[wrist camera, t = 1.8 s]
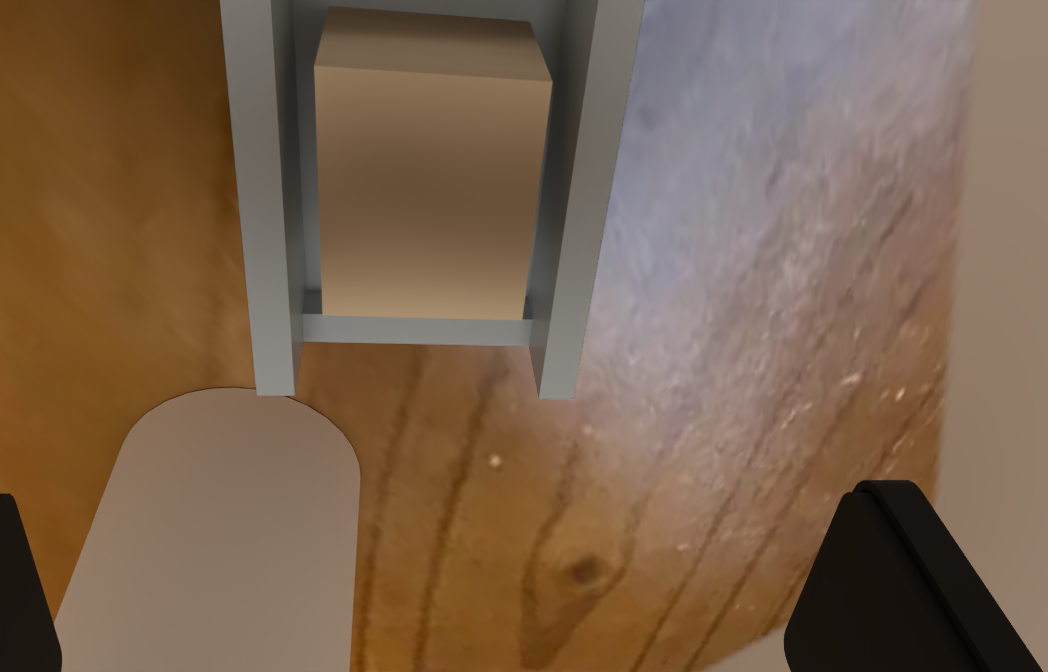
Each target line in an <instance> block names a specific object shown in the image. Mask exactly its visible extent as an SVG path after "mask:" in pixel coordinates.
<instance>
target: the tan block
mask: <svg viewBox="0 0 1048 672" xmlns="http://www.w3.org/2000/svg"><path fill="white" fill-rule="evenodd" d="M314 77H315V107H316V137H317V166H318V196H319V225H320V255H321V284H322V314H323V315H326V316H366V317H405V318H444V319H484V320H522V318H523V310H524V303H525V295H526V287H527V279H528V271H529V263H530V256H531V248H532V240H533V232H534V224H535V216H536V208H537V201H538V193H539V185H540V177H541V169H542V161H543V154H544V146H545V138H546V130H547V122H548V114H549V107H550V99H551V91H552V83H553V81H552V79H551V76H550V74H549V71H548V68H547V66H546V63H545V61H544V58H543V55H542V53H541V50H540V47H539V45H538V42H537V40H536V37H535V34H534V32H533V29H532V26H531V24H530V21H517V20H504V19H492V18H479V17H466V16H453V15H440V14H427V13H414V12H401V11H388V10H375V9H363V8H350V7H337V6H329V9H328V13H327V17H326V21H325V25H324V29H323V33H322V37H321V41H320V45H319V48H318V52H317V56H316V60H315V64H314Z"/></svg>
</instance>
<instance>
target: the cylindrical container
mask: <svg viewBox="0 0 1048 672" xmlns="http://www.w3.org/2000/svg"><path fill="white" fill-rule="evenodd" d="M360 480H361V476H360V468H359V462H358V459H357V457H356V454H355V452H354V449H353V447H352V446H351V444H350V443H349V441H348V440H347V438H346V437H345V436H344V434H343V433H342V432H341V431H340V430H339V429H338V428H337V427H336V426H335V425H334V424H333V423H332V422H331V421H330V420H329V419H327V418H326V417H325V416H323V415H321V414H320V413H318V412H317V411H315V410H313V409H312V408H310V407H309V406H307V405H305V404H302V403H300V402H297V401H295V400H293V399H290V398H288V397H285V396H263V395H257V393H256V390H255V389H244V388H215V389H206V390H201V391H196V392H191V393H186V394H184V395H181V396H178V397H176V398H173V399H170V400H168V401H165V402H164V403H162V404H160V405H159V406H157V407H155V408H154V409H152V410H150V411H149V412H147V413H146V414H145V415H144V416H143V417H142V418H141V419H140V420H139V421H138V422H137V423H136V424H135V425H134V426H133V427H132V428H131V430H130V432H129V433H128V435H127V437H126V439H125V440H124V442H123V444H122V447H121V449H120V452H119V454H118V457H117V460H116V462H115V465H114V468H113V470H112V473H111V475H110V478H109V481H108V483H107V486H106V488H105V491H104V494H103V496H102V499H101V502H100V504H99V507H98V509H97V512H96V515H95V517H94V520H93V523H92V525H91V528H90V530H89V533H88V536H87V538H86V541H85V544H84V546H83V549H82V551H81V554H80V557H79V559H78V562H77V564H76V567H75V570H74V572H73V575H72V578H71V580H70V583H69V585H68V588H67V591H66V593H65V596H64V599H63V601H62V604H61V606H60V609H59V612H58V614H57V617H56V620H55V622H54V627H55V630H56V633H57V637H58V640H59V643H60V646H61V651H62V670H61V672H349V667H350V650H351V633H352V616H353V599H354V582H355V565H356V548H357V531H358V514H359V497H360Z"/></svg>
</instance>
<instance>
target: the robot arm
mask: <svg viewBox="0 0 1048 672" xmlns="http://www.w3.org/2000/svg"><path fill="white" fill-rule="evenodd" d="M784 651H785V656H786V659H787V663H788V665H789V668H790V670H791V672H1043V671H1042V669H1041V668H1040V666H1039V665H1038V663H1037V662H1036V660H1035V659H1034V657H1033V656H1032V654H1031V653H1030V651H1029V650H1028V649H1027V647H1026V645H1025V644H1024V643H1023V641H1022V640H1021V638H1020V637H1019V635H1018V634H1017V632H1016V631H1015V629H1014V628H1013V626H1012V625H1011V623H1010V622H1009V620H1008V619H1007V617H1006V616H1005V614H1004V613H1003V611H1002V610H1001V608H1000V607H999V605H998V604H997V603H996V601H995V599H994V598H993V597H992V595H991V593H990V592H989V591H988V589H987V588H986V586H985V585H984V583H983V582H982V580H981V579H980V577H979V576H978V574H977V573H976V571H975V570H974V568H973V567H972V565H971V564H970V562H969V561H968V559H967V558H966V556H965V555H964V553H963V552H962V550H961V549H960V548H959V546H958V544H957V543H956V542H955V540H954V539H953V537H952V536H951V534H950V533H949V531H948V530H947V528H946V527H945V525H944V524H943V522H942V521H941V519H940V518H939V516H938V515H937V514H936V512H935V510H934V509H933V507H932V506H931V504H930V503H929V501H928V500H927V498H926V497H925V495H924V494H923V493H922V491H921V490H920V489H919V487H918V486H917V485H916V484H915V483H913V482H911V481H909V480H864V481H861V482H859V483H858V484H857V485H856V487H855V488H854V490H853V492H847V493H846V494H844V495H843V497H842V498H841V500H840V503H839V505H838V507H837V510H836V512H835V514H834V517H833V519H832V521H831V524H830V526H829V529H828V531H827V533H826V536H825V538H824V540H823V543H822V545H821V547H820V550H819V552H818V554H817V557H816V559H815V562H814V564H813V566H812V569H811V571H810V573H809V576H808V578H807V580H806V583H805V585H804V587H803V590H802V592H801V595H800V597H799V599H798V602H797V604H796V606H795V609H794V611H793V613H792V616H791V618H790V620H789V623H788V625H787V628H786V630H785V634H784ZM61 670H62V651H61V646H60V643H59V640H58V637H57V633H56V630H55V627H54V624H53V621H52V617H51V614H50V611H49V608H48V604H47V601H46V598H45V595H44V592H43V588H42V585H41V582H40V579H39V575H38V572H37V569H36V566H35V563H34V559H33V556H32V553H31V550H30V547H29V543H28V540H27V537H26V534H25V530H24V527H23V524H22V521H21V518H20V514H19V511H18V508H17V505H16V502H15V500H14V497H13V496H12V495H11V494H0V672H61Z"/></svg>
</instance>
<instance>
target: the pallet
mask: <svg viewBox="0 0 1048 672" xmlns="http://www.w3.org/2000/svg"><path fill="white" fill-rule="evenodd" d="M644 3H645V0H220V9H221V19H222V30H223V41H224V51H225V62H226V73H227V83H228V94H229V105H230V115H231V126H232V137H233V147H234V158H235V169H236V179H237V190H238V201H239V211H240V222H241V233H242V243H243V254H244V265H245V275H246V286H247V297H248V307H249V318H250V329H251V339H252V350H253V361H254V371H255V382H256V393H257V395H263V396H295V391H296V385H297V379H298V372H299V366H300V360H301V354H302V348H303V342H345V343H393V344H440V345H488V346H529V349H530V354H531V360H532V365H533V370H534V376H535V381H536V386H537V392H538V397H539V399H573V398H574V393H575V387H576V382H577V376H578V370H579V365H580V359H581V354H582V348H583V343H584V337H585V331H586V326H587V320H588V315H589V309H590V304H591V298H592V292H593V287H594V281H595V276H596V270H597V265H598V259H599V253H600V248H601V242H602V237H603V231H604V226H605V220H606V214H607V209H608V203H609V198H610V192H611V187H612V181H613V175H614V170H615V164H616V159H617V153H618V148H619V142H620V136H621V131H622V125H623V120H624V114H625V109H626V103H627V97H628V92H629V86H630V81H631V75H632V70H633V64H634V58H635V53H636V47H637V42H638V36H639V31H640V25H641V19H642V14H643V8H644ZM329 6H337V7H350V8H363V9H375V10H388V11H401V12H414V13H427V14H440V15H453V16H466V17H479V18H492V19H504V20H517V21H530V24H531V26H532V29H533V32H534V34H535V37H536V40H537V42H538V45H539V47H540V50H541V53H542V55H543V58H544V61H545V63H546V66H547V68H548V71H549V74H550V76H551V79H552V81H553V83H552V91H551V99H550V107H549V114H548V122H547V130H546V138H545V146H544V154H543V161H542V169H541V177H540V185H539V193H538V201H537V208H536V216H535V224H534V232H533V240H532V248H531V256H530V263H529V271H528V279H527V287H526V295H525V303H524V310H523V318H522V320H484V319H444V318H405V317H366V316H326V315H323V314H322V284H321V255H320V225H319V196H318V166H317V137H316V107H315V77H314V64H315V60H316V56H317V52H318V48H319V45H320V41H321V37H322V33H323V29H324V25H325V21H326V17H327V13H328V9H329Z"/></svg>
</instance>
